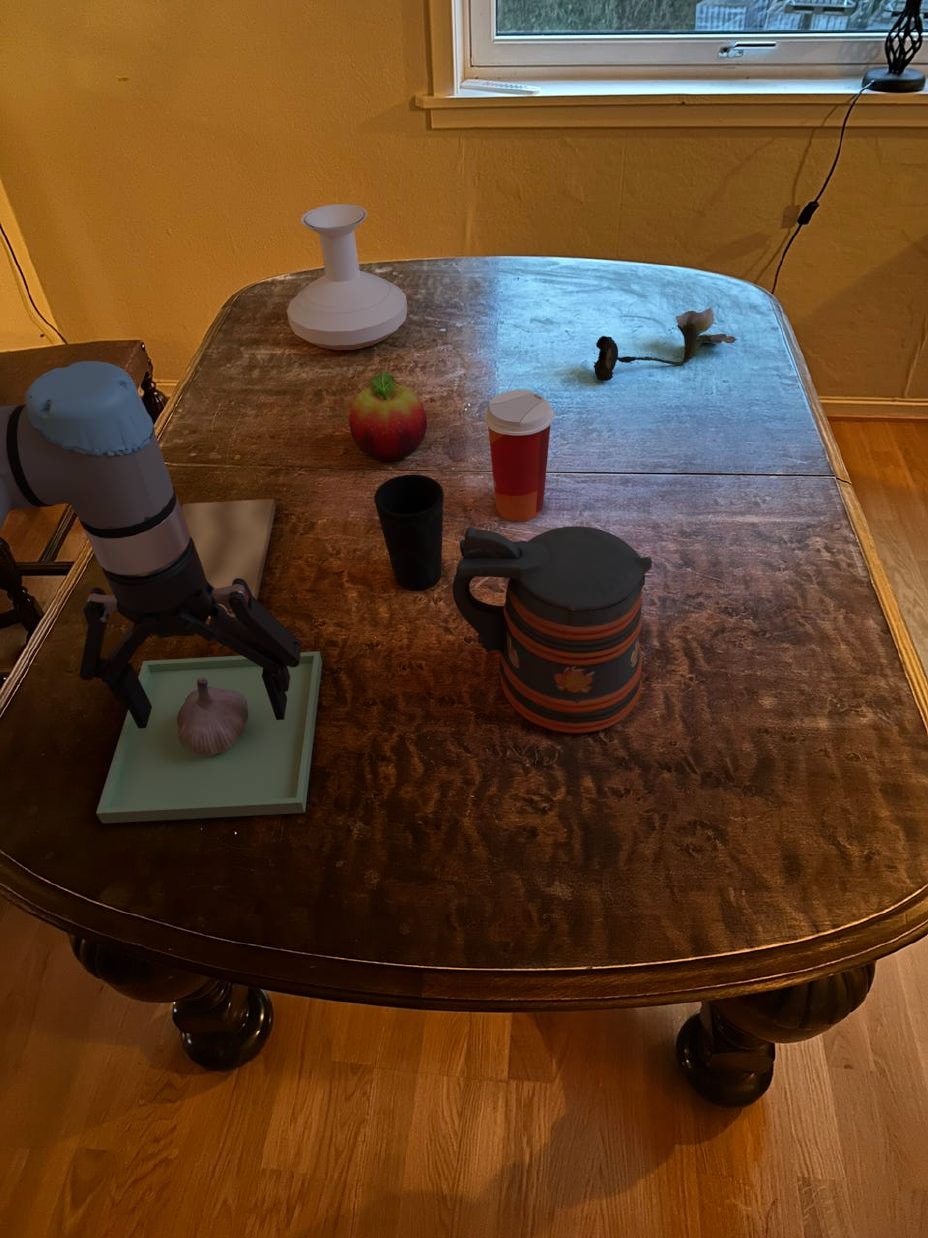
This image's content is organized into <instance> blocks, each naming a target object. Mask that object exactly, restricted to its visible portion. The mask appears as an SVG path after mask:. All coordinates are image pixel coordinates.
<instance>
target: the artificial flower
mask: <svg viewBox="0 0 928 1238" xmlns="http://www.w3.org/2000/svg"><path fill="white" fill-rule="evenodd" d="M675 321H676V323H677V325H676V327H677V329H678V330H679V331H680V332H681V334H682V336H683V342H684V353H683V359H682V361H674V360H669V359H661V358H658V357H652V356H643V357H642V356H638V357H637V356H631V355H630V356H629V355H627V356H622V357H620V356H619V348H618V345H617V343H616V342H615V340H614V339H613V337H612V336H606V335H602V336H601V337H599V338H598V340H597V341H596V343H595V347H596V348H597V349H599V352H598V357H597V361H593V362H592V363H593V364H594V365H593V370H594V375H595V377H596V379H597V380H599V381H602V382H603V381H604V382H608V381H611V380H612V379H613V378H614V376H613V375H614V372H613V371H614V370H615V367H616V364H617V362H618V361H619V362H620V363H625V364H630V363H632V362H634V361H644V362H645V361H648V362H651V361H654V362H659V363H661V364H668V365H674V366H684V365H685V364H686V363H688V362H689V361H690V360H691V361H692V359H694V358H695V357H697V355H698V353H699V349H700V346H701V345H702V344H705V343H712V344H717V345H720V344H723V342H724V343H726V344H734V343H735V341H737V340H738V339H737V338H736V337H735V336H733V335H729V336H727V335H726V333H717V334H711V333H707V334H705V333H706V332H707V331H708V330H709V329H711V327H712V326H713V325H714V321H715V314H714V311H713V308H712V306H710V307H709V308H707V309H705V310H703V311H700V312H697V311H695V310H687V311H686V312H684V313H682V314H680V315H676V316H675ZM702 333H703V334H702Z"/></svg>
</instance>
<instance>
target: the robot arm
mask: <svg viewBox="0 0 928 1238" xmlns="http://www.w3.org/2000/svg"><path fill="white" fill-rule="evenodd" d="M140 395H141V394H140V393H139V390H138V388H137V386H136V383H135V381H134V380H133V378H132V377H131V376H130V374H129V373H128V372H127V371H126V370H124V369H123V368H122V367H119V366H118V365H115V364H113V363H111V362H105V361H99V360H85V361H77V362H73V363H71V364H70V365H68V366H65V367H55V368H53V369H50V370H49V371H46V372H45V373H43V374H42V375H40V376H39V377H37V378H36V379H35V380H34V381H33V382H32V383H31V384H30V385H29V387H28V388H27V390H26V393H25V398H24V399H25V401H24V402H25V404H14V405H0V531H1V529H2V528H3V526H4V523H5V522H6V520H7V517H8V515H9V513H10V512H11V511H16V510H17V511H18V510H25V509H35V508H47V507H53V506H56V505H57V506H58V505H66V504H67V505H70V506H71V508H72V509H73V512H74V513H75V516H77V518H78V521H79V523H80V525H81V527H82V529H83V531H84V533H85V536H86V538H87V540H88V542H89V544H90V547H91V549H92V552H93V553H94V556H95V558H96V560H97V562H98V564H99V565H100V566H101V568H102V572H103V575H104V577H105V579H106V581H107V584H108V586H109V587H110V590H111V592H112V594H106V592H105V590H104V589H103V588H101V587H92V589H91V590H90V592H89V594H88V598H87V600H86V602H85V604H84V607H83V615H84V617H85V620H86V622H87V632H86V637H85V642H84V647H83V653H82V658H81V663H80V668H79V677H80V678H81V679H82V680H84V681H92V680H93V678H97V679H101V681H102V683H105V684H107V687H108V688H109V691H110V693H111V695H112V696H113V698H114V700H115V701H116V702H118V703H124V704H125V705H126V707H127V710H128V709H129V711H130V713H131V715H132V717H133V719H134V721H135V723H136V725H137V727H138V729H139V728H146V727H147V723H148V720H149V716H150V713H151V709H152V705H151V703H150V701H149V699H148V697H147V695H146V693H145V691H144V689H143V687H142V685H141V683H140V681H139V678H138V677H139V675H138V674H137V672H136V669H135V668H134V666H133V664H132V662H130V661H131V659H132V658H133V657H134V655H135V654H136V652H137V651H138V649H139V648H140V647H142V646H143V644H144V643H145V642H146V641H147V639H148V637H149V636H150V635H151V634H152V635H155V636H158V638H159V639H162V638H165V639H166V638H171V637H174V636H181V637H194V636H195V635H197V636H199V637H200V638H203V639H204V640H206V641H208V642H213V641H216V642H218V643H219V644H221V645H223V646H225V647H226V648H228V649H229V650H230V651H233V652H235V653H236V654H238V655H239V656H243V657H245V658H247V659H249V660H250V661H252V662H254V663H255V664H257V665H259V666H261V667H262V668H263V672H262V678H263V681H264V684H265V687H266V690H267V693H268V696H269V699H270V702H271V705H272V708H273V711H274V714H275V717H276V720H284V717H285V710H286V703H287V696H286V693H285V692H286V691H288V689H289V682H290V674H289V671H288V667H287V666H289V667H297V666H298V665H299V660H300V653H301V652H302V642H301V641H300V640H299V638H297V637H296V636H295V635H294V634H293V633H292V631H290V630H289V629H288V628H287V627H286V626H285V624H283V623H282V622H281V621H279V620H278V618H276V617H275V616H274V615H273V614H272V613H271V612H270V611H269V610H268V609H267V608H266V607H265V606H264V605H263V604H262V603H261V602H260V601H258V599H257V600H256V599H255V598H254V597H253V595H252V593H251V591H250V589H249V587H248V585H247V583H246V581H245V580H243V579H241V578H236V579H234V580H233V582H232V586H229V587H222V588H216V589H215V588H214V587H213V586H212V585H210V584H209V583H208V581H207V580H206V577H205V573H204V569H203V566H202V564H201V561H200V558H199V555H198V552H197V550H196V547H195V544H194V541H193V539H192V537H191V536H190V532H189V528H188V525H187V522H186V520H185V517H184V514H183V511H182V506H181V503H180V500H179V498H178V495H177V493H176V489H175V487H174V484H173V482H172V479H171V477H170V473H169V470H168V467H167V464H166V462H165V458H164V455H163V452H162V449H161V445H160V443H159V441H158V437H157V434H156V432H155V430H156V429H155V425H154V422H153V419H152V417H151V415H150V414H149V412H148V411H147V408H146V406H145V404H144V402H143V400H142V397H141V396H140ZM219 604H221V605H223V606H225V607H226V608H227V612H228V613H229V614H233V613H234V615H235V616H236V618H237V619H238V620H239V621H238V620H236V619H235V618H233V617H231V616H230V615H228V614H227V613H226V610H225V609H224V608H223V607H222V606H220V605H219ZM115 612H118V613H119V614H120V615H121V616H123V617H124V618H126V619H127V620H129V621H130V622H131V623H130V625H129V627H128V628H127V629H126V631H125V633H124V634H123V635H122V637H121V638H120V640H119V641H118V643H117V644H116V646H115V647H114V649H113V650H112V651H110V652H109V655H108V657H107V658H104V657H103V658H102V657H101V655H102V650H103V647H104V640H105V636H106V631H107V626H108V621H109V620H111V619H112V618H113V616H114V613H115ZM209 616H210V617H211V619H210V623H209V625H208V624H206V623H205V622H206V621H207V619H208V617H209Z"/></svg>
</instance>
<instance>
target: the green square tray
mask: <svg viewBox="0 0 928 1238" xmlns="http://www.w3.org/2000/svg"><path fill="white" fill-rule="evenodd" d="M287 667H288V671H289V674H290V682H289V689H288V691H286V692H285V693H286V696H287V703H286V710H285V717H284V720H276V717H275V714H274V711H273V708H272V705H271V702H270V699H269V696H268V693H267V690H266V687H265V684H264V681H263V678H262V672H263V668H262V667H261V666H259V665H257V664H255V663H254V662H252V661H250V660H249V659H247V658H245V657H243V656H242V655H228V656H209V657H192V658H176V659H175V658H173V659H156V660H143V661H142V665H141V667H140V671H139V674H138V678H139V681H140V683H141V685H142V687H143V689H144V691H145V693H146V695H147V697H148V699H149V701H150V703H151V705H152V709H151V713H150V716H149V720H148V723H147V727H146V728H139V729H138V727H137V725H136V723H135V721H134V719H133V717H132V715H131V713H130V711H129V709H128V708H127V712H126V716H125V719H124V722H123V726H122V728H121V732H120V735H119V738H118V742H117V745H116V748H115V751H114V754H113V757H112V760H111V764H110V768H109V770H108V774H107V776H106V780H105V784H104V785H103V786H104V787H103V789H102V792H101V796H100V799H99V803H98V805H97V808H96V812H95V814H96V816H97V817H98V819H99V820H100V822H101V824H120V823H138V822H139V823H140V822H157V821H177V820H198V819H216V818H217V819H218V818H234V817H254V816H273V815H274V816H275V815H287V814H288V815H290V814H291V815H293V814H305V813H306V807H307V798H308V791H309V789H308V788H309V780H310V773H311V764H312V754H313V745H314V739H315V730H316V729H315V728H316V721H317V720H316V719H317V712H318V703H319V695H320V694H319V693H320V685H321V678H322V677H321V676H322V669H323V668H322V667H323V659H322V655H321V652H320V651H301V653H300V660H299V665H298V666H297V667H289V666H287ZM200 677H204V678H206V679H207V681H208V685H207V687H216V688H219V689H223V690H234V691H237V692H239V693H241V694H242V695H243V696H244V697H245V698H246V700H247V704H248V708H247V709H248V719H247V721H246V723H245V724H244V728H243V731H242V733H241V734H240V736H239V737H238V738H237V740H236V743H235V745H234V747H233V748H232V749H230V750H229V751H227V752H221V753H217V754H215V755H213V756H210V757H204V756H198V755H195V754H193V753H192V752H191V751H190V750H189V749H187V748H185V747H184V746H183V745H182V744H181V743H180V741H179V739H178V724H177V716H178V712H179V710H180V709H181V707H182V706H183V704H184V702H185V700H186V698H187V696H188V695H189V694H190V693H191V692H193V691H195V690H198V687H197V679H198V678H200Z"/></svg>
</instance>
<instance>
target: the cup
mask: <svg viewBox="0 0 928 1238" xmlns="http://www.w3.org/2000/svg"><path fill="white" fill-rule="evenodd" d="M444 494H445V493H444V488H443V487H442V486H441V484H440V483H439V482H438V481H437V480H436V479H434V478H432V477H429V476H427V475H423V474H415V473H414V474H402V475H398V476H395V477H391V478H390V479H388V480H386V481H384V482H383V483H382V484H381V485H379V486H378V488H377V489H376V491H375V493H374V496H373V499H374V504H375V509H376V512H377V516H378V519H379V524H380V527H381V531H382V534H383V538H384V542H385V546H386V550H387V553H388V556H389V561H390V564H391V568H392V573H393V576H394V580H395V581H396V584H397V585H398V586H400V587H401V588H403V589H404V590H408V591H411V592H419V591H420V592H421V591H425V590H428V589H431V588H433V587H434V586H436V585H437V584H438V583H439V582H440V580H441V578H442V566H443V565H442V563H443V532H444V531H443V529H444V526H443V525H444V499H445V498H444Z"/></svg>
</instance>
